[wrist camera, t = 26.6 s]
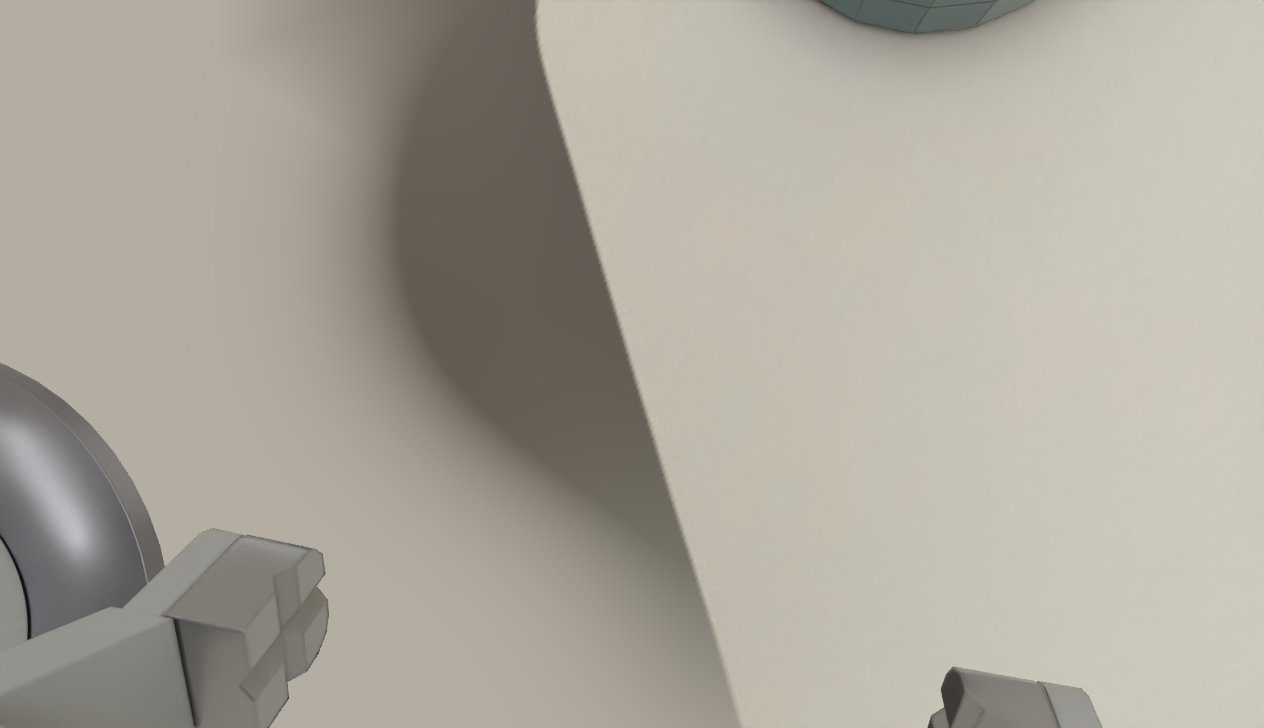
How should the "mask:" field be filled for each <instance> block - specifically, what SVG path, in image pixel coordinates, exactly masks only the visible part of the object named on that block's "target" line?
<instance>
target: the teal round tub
mask: <svg viewBox="0 0 1264 728" xmlns="http://www.w3.org/2000/svg"><path fill="white" fill-rule="evenodd" d="M821 1H822V2H824V3H826V4H827V5H829V6H831V7H833V8H834V9H836V10H838V11H839V12H841V13H843V14H844V15H846V16H848V17H849V18H851V19H853V20H854V19H855V21H858V22H863V23H867V24H872V25H877V26H881V27H886V28H891V29H895V30H900V31H905V32H909V33H919V32H929V31H939V30H949V29H959V28H969V27H974V26H978V25H980V24H983V23H985V22H987V21H990V20H992V19H994V18H997V17H999V16H1002V15H1004V14H1006V13H1009V12H1011V11H1013V10H1016V9H1018V8H1020V7H1023V6H1025V5H1027V4H1030V3H1032V2H1034V1H1035V0H821Z"/></svg>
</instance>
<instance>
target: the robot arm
mask: <svg viewBox="0 0 1264 728" xmlns="http://www.w3.org/2000/svg"><path fill="white" fill-rule="evenodd" d="M324 575H325V567H324V560H323V554H322V553H321V552H319V551H318V550H316V549H312V548H308V547H304V546H299V545H294V544H289V543H285V542H280V541H275V540H270V539H266V538H261V537H256V536H251V535H242V534H237V533H233V532H228V531H224V530H219V529H215V528H212V529H209V530H206V531H203V532H201V533H200V534H199V535H198V536H197V537H196V538H194V539H193V540H192V541H191V542H190V543H189V544H188V545H187V546H186V547H185V548H184V549H183V550H182V551H181V552H180V553H179V554H178V555H177V556H176V557H175V558H174V559H173V560H172V561H171V562H170V563H169V564H168V565H167V566H165V567H164V568H163V569H162V570H161V571H160V572H159V573H158V574H157V575H156V576H155V577H154V578H153V579H152V580H151V581H150V582H149V583H148V584H147V585H146V586H145V587H144V588H143V589H142V590H141V591H140V592H139V593H137V594H136V595H135V596H134V597H133V598H132V599H131V600H130V601H129V602H128V603H127V604H126V605H125V606H124V607H123V608H117V607H108V608H106V609H103V610H101V611H98V612H96V613H93V614H91V615H88V616H86V617H84V618H81V619H79V620H76V621H74V622H71V623H69V624H66V625H64V626H61V627H59V628H56V629H54V630H51V631H49V632H46V633H44V634H41V635H39V636H37V637H34V638H32V639H29V640H27V635H28V622H27V609H26V602H25V597H24V592H23V588H22V584H21V581H20V578H19V575H18V572H17V570H16V567H15V565H14V562H13V560H12V558H11V556H10V554H9V552H8V550H7V549H6V547H5V545H4V544H3V542H2V540H1V539H0V728H269V727H270V725H271V724H272V723H273V721H274V720H275V718H276V717H277V715H278V714H279V712H280V711H281V709H282V708H283V706H284V705H285V704H286V702H287V701H288V699H289V693H288V684H287V682H288V681H290V680H292V679H294V678H296V677H297V676H299V675H301V674H303V673H305V672H307V671H308V669H309V668H310V666H311V665H312V663H313V661H314V660H315V658H316V657H317V655H318V654H319V651H320V648H321V646H322V643H323V640H324V637H325V635H326V632H327V624H328V617H329V610H328V600H327V598H326V597H325V596H324V595H323V593H322V592H321V591H320V590H319V588H318V587H317V584H318V583H319V582H320V580H321V579H322V578H323V576H324ZM941 693H942V698H943V702H944V708H943V709H941V710H939V711H938V712H936V713H934V714H933V715H931V718H930V721H929V725H928V728H1103V727H1102V725H1101V723H1100V720H1099V718H1098V716H1097V714H1096V711H1095V709H1094V707H1093V704H1092V702H1091V700H1090V698H1089V696H1088V695H1087V694H1086V693H1085V692H1084V691H1083V690H1082V689H1081V688H1076V687H1070V686H1064V685H1058V684H1052V683H1046V682H1040V681H1038V682H1034V681H1031V680H1026V679H1020V678H1014V677H1009V676H1003V675H997V674H992V673H986V672H980V671H975V670H969V669H963V668H958V667H952V668H951V669H950V670H949V672H948V673H947V674H946V676H945V679H944V682H943V684H942V687H941Z"/></svg>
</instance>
